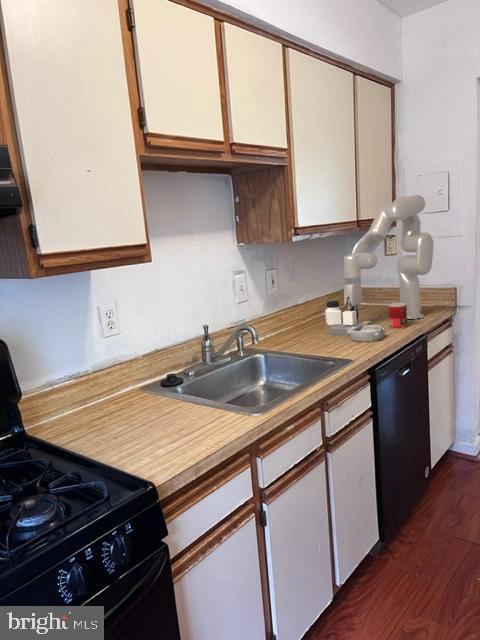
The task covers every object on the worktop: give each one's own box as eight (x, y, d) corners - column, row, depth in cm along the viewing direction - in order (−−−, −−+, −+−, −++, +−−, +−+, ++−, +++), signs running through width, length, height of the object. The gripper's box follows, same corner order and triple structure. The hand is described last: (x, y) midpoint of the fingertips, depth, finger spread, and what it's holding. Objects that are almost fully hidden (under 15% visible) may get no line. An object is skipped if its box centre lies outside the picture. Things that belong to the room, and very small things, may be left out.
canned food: (404, 329, 217) (403, 305, 215) (387, 328, 222) (386, 305, 220) (409, 325, 223) (408, 302, 221) (392, 325, 228) (392, 302, 226)
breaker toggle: (347, 322, 225) (346, 310, 224) (356, 323, 222) (356, 311, 221) (343, 324, 222) (342, 312, 221) (352, 325, 219) (352, 312, 218)
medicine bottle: (342, 324, 240) (340, 301, 238) (328, 325, 241) (326, 302, 239) (339, 321, 247) (338, 299, 245) (325, 322, 248) (324, 300, 246)
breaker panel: (350, 325, 235) (349, 319, 234) (372, 327, 227) (372, 321, 226) (329, 334, 220) (328, 328, 219) (352, 336, 212) (352, 329, 212)
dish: (344, 341, 206) (343, 330, 205) (361, 334, 215) (360, 323, 215) (374, 344, 196) (374, 332, 195) (390, 337, 205) (390, 325, 204)
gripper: (353, 279, 230) (355, 316, 233) (337, 283, 219) (339, 322, 222) (367, 279, 225) (369, 317, 228) (352, 283, 214) (354, 323, 217)
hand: (354, 319), depth 225 cm, fingers closed
